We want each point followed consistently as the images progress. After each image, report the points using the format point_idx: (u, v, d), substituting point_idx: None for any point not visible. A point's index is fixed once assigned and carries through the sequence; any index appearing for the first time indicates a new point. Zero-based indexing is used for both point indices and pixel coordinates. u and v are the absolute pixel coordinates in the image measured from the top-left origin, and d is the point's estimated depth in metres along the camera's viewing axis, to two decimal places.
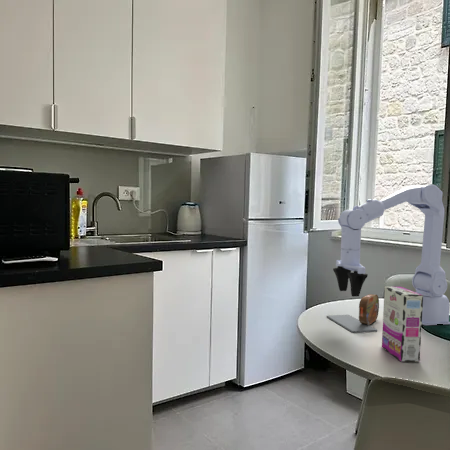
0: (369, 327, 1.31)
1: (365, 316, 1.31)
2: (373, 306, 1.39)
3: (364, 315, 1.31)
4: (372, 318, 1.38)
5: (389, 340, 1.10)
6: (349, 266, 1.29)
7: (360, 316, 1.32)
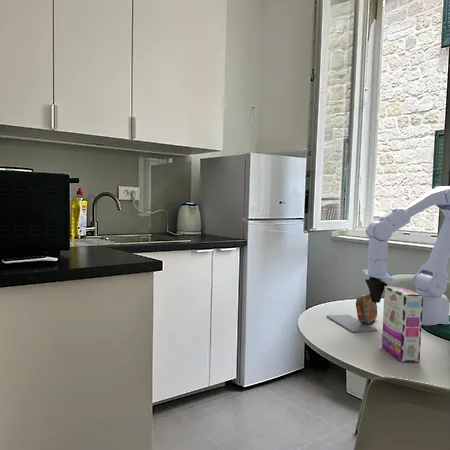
0: (369, 327, 1.31)
1: (363, 314, 1.31)
2: (370, 305, 1.39)
3: (362, 313, 1.31)
4: (371, 317, 1.38)
5: (389, 340, 1.10)
6: (377, 276, 1.34)
7: (358, 315, 1.32)
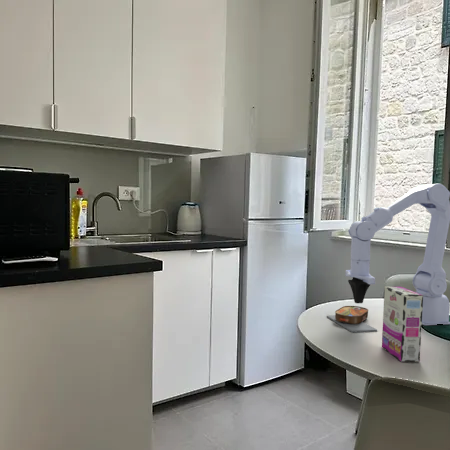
0: (369, 327, 1.31)
1: (347, 316, 1.34)
2: (351, 310, 1.42)
3: (347, 317, 1.34)
4: (362, 312, 1.40)
5: (389, 340, 1.10)
6: (359, 276, 1.32)
7: (348, 321, 1.34)
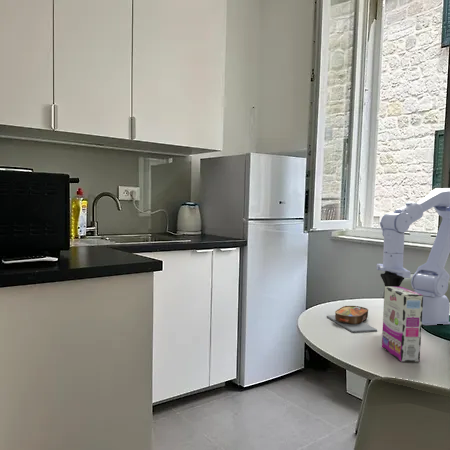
0: (369, 327, 1.31)
1: (347, 316, 1.34)
2: (351, 310, 1.42)
3: (347, 317, 1.34)
4: (362, 312, 1.40)
5: (389, 340, 1.10)
6: (393, 270, 1.28)
7: (348, 321, 1.34)
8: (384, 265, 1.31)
